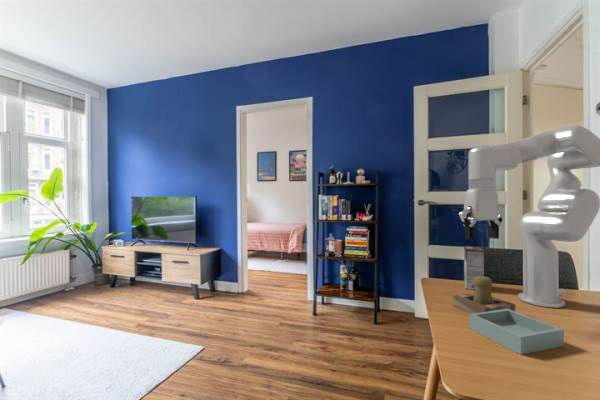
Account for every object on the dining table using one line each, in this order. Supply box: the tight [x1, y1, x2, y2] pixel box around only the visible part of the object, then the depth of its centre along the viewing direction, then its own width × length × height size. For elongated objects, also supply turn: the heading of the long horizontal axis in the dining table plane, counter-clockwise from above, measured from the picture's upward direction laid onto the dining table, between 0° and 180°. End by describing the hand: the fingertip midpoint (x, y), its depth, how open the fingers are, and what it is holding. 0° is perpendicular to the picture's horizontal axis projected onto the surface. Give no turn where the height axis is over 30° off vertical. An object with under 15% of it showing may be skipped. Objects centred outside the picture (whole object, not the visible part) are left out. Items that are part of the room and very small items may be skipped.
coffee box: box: [463, 245, 485, 290], centre depth 117 cm, size 9×6×16 cm
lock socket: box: [452, 293, 516, 314], centre depth 91 cm, size 12×12×4 cm
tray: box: [468, 309, 565, 355], centre depth 74 cm, size 14×14×4 cm
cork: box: [473, 276, 493, 305], centre depth 91 cm, size 6×6×11 cm
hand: (481, 238), depth 92 cm, fingers open, 9 cm apart
